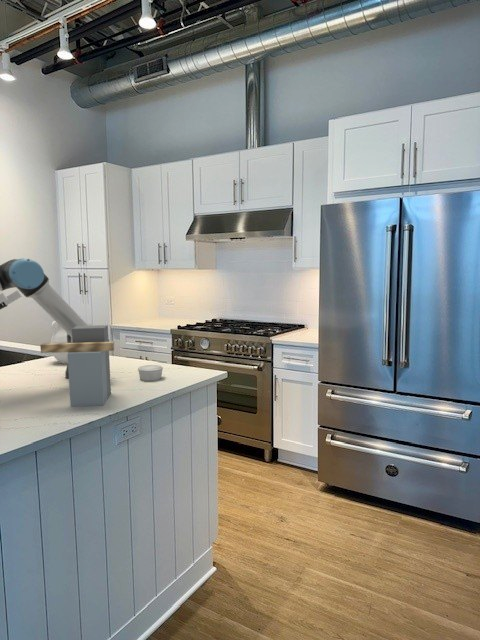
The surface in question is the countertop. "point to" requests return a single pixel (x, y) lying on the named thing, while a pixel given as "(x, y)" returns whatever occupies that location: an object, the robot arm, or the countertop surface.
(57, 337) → the pitcher
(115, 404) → the countertop surface
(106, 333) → the stand
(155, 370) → the ramekin
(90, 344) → the oak bar
